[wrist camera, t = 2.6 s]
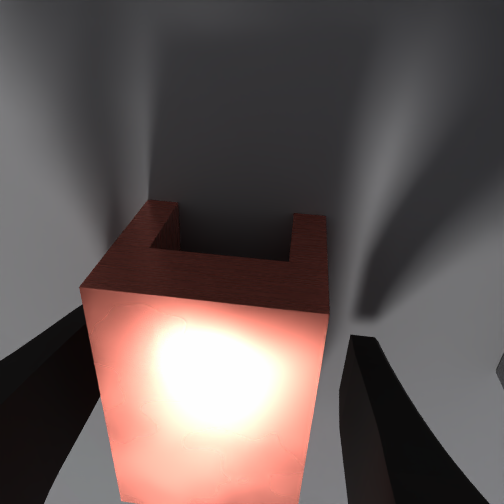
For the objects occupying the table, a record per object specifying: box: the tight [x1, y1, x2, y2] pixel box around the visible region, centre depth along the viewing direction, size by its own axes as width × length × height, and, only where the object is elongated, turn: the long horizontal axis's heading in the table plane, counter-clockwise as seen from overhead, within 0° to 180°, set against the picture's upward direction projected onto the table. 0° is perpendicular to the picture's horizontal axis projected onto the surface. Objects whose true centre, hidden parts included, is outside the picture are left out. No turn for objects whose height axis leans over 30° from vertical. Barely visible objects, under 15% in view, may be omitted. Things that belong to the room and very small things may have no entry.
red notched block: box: [79, 200, 330, 504], centre depth 12 cm, size 5×7×4 cm, turn 178°
